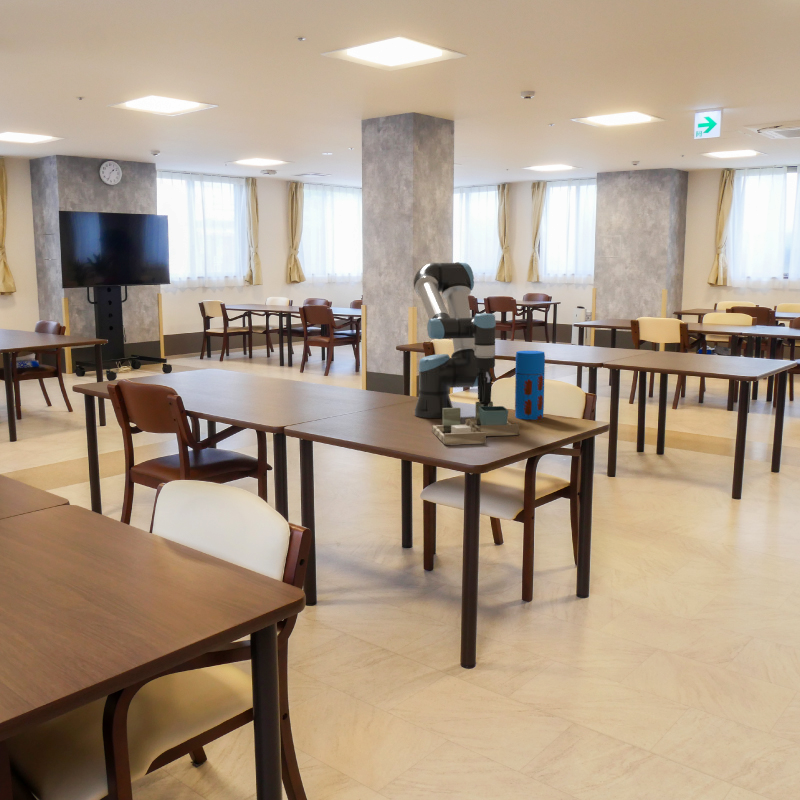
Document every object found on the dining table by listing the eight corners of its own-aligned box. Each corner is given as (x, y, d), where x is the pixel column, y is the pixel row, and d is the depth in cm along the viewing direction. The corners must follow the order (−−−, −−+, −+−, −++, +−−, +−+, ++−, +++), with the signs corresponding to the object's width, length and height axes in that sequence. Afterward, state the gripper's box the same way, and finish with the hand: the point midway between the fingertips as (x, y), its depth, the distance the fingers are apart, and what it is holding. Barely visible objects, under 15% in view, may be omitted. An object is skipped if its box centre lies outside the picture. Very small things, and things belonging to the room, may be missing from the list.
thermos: (549, 417, 318) (550, 352, 314) (530, 420, 311) (531, 354, 307) (527, 413, 326) (529, 350, 322) (509, 416, 320) (510, 352, 315)
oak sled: (465, 423, 305) (465, 402, 304) (501, 422, 307) (501, 400, 306) (480, 436, 283) (480, 413, 281) (518, 434, 285) (519, 411, 283)
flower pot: (508, 436, 284) (508, 410, 283) (483, 436, 283) (483, 410, 282) (502, 430, 293) (503, 405, 292) (478, 431, 292) (478, 406, 291)
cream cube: (451, 440, 279) (451, 425, 278) (464, 439, 280) (465, 424, 280) (456, 443, 274) (456, 428, 273) (470, 442, 276) (470, 427, 275)
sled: (432, 430, 292) (431, 408, 291) (469, 429, 294) (469, 407, 293) (444, 444, 270) (444, 420, 269) (485, 443, 272) (485, 419, 270)
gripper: (469, 354, 308) (469, 417, 312) (479, 359, 293) (478, 424, 297) (489, 354, 309) (488, 416, 313) (500, 358, 294) (499, 424, 298)
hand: (484, 420), depth 305 cm, fingers closed on oak sled, 2 cm apart
